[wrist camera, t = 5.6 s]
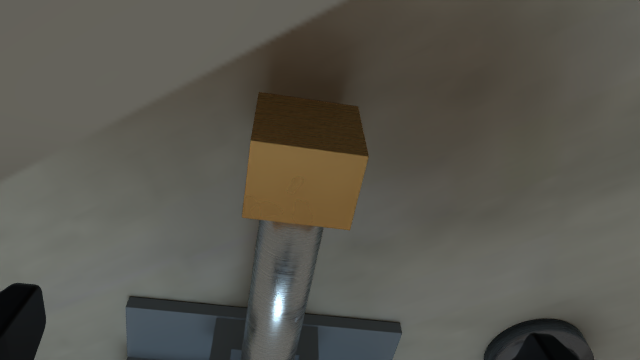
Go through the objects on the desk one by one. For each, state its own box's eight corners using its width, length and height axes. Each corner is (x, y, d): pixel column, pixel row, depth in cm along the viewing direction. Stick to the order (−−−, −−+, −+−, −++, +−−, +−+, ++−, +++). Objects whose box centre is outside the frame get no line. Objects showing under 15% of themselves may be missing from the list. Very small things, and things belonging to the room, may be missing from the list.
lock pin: (358, 106, 16) (368, 156, 13) (291, 398, 24) (290, 464, 21) (258, 92, 16) (250, 140, 13) (223, 392, 23) (214, 459, 21)
